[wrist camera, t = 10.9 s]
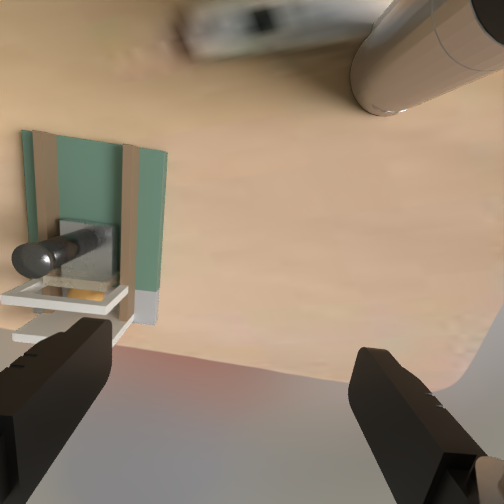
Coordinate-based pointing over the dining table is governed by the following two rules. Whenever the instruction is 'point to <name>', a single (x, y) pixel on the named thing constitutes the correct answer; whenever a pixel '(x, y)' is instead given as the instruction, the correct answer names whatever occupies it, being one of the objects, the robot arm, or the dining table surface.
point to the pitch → (95, 210)
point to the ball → (86, 294)
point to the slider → (73, 257)
